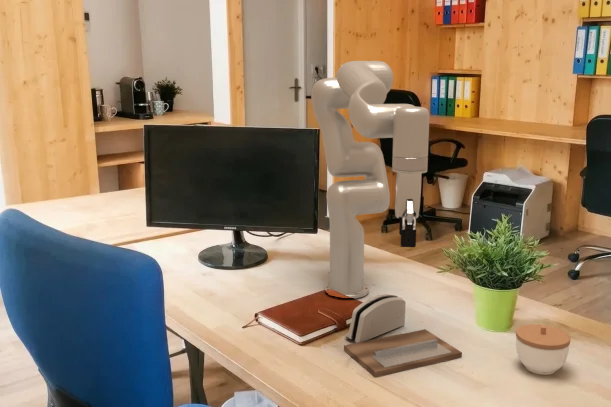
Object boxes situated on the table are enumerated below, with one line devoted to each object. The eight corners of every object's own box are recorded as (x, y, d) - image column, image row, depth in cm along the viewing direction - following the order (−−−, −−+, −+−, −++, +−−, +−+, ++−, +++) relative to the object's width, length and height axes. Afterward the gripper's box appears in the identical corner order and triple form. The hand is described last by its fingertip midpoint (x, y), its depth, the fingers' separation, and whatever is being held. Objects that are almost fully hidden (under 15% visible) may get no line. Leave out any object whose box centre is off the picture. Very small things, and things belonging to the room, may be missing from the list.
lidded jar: (578, 377, 128) (582, 334, 127) (531, 382, 126) (534, 339, 124) (548, 354, 139) (551, 315, 137) (504, 359, 137) (506, 319, 135)
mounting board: (343, 350, 141) (344, 345, 141) (424, 333, 150) (425, 329, 150) (375, 377, 129) (375, 371, 129) (461, 357, 138) (462, 352, 137)
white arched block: (390, 322, 157) (394, 286, 154) (404, 329, 154) (409, 292, 151) (343, 341, 146) (347, 302, 144) (357, 349, 143) (362, 310, 140)
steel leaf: (371, 357, 135) (371, 351, 135) (436, 343, 142) (436, 338, 141) (384, 368, 130) (384, 362, 130) (451, 353, 137) (451, 347, 136)
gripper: (391, 158, 144) (389, 230, 147) (393, 170, 127) (390, 251, 130) (424, 159, 143) (421, 231, 146) (430, 171, 126) (427, 252, 130)
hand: (407, 240), depth 138 cm, fingers open, 9 cm apart
